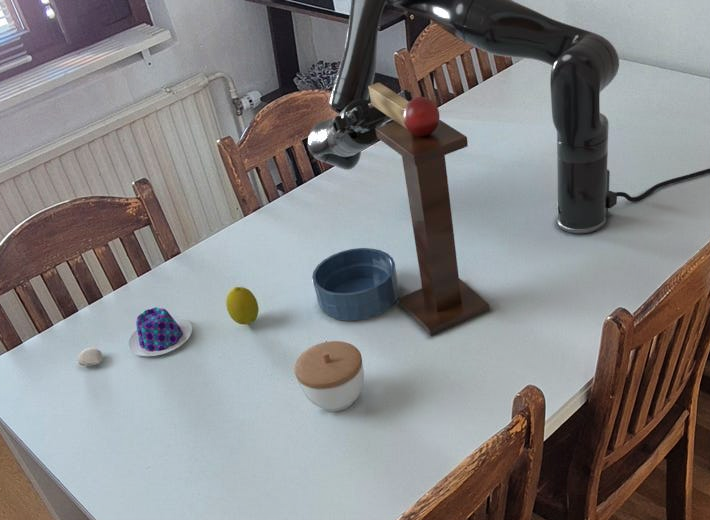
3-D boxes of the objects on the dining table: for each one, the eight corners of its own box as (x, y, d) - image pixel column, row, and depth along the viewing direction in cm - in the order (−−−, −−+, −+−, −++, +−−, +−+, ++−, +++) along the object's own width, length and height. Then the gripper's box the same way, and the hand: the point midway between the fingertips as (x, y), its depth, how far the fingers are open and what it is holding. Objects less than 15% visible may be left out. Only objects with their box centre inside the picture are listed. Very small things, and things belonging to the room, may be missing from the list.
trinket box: (305, 383, 136) (291, 338, 130) (368, 373, 136) (358, 327, 129) (305, 426, 129) (290, 380, 122) (371, 415, 129) (360, 369, 122)
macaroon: (96, 352, 150) (90, 342, 148) (112, 361, 148) (106, 350, 146) (77, 365, 148) (71, 354, 146) (92, 374, 146) (86, 363, 144)
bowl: (363, 266, 159) (358, 239, 155) (416, 293, 151) (411, 264, 146) (303, 303, 153) (295, 276, 149) (354, 333, 145) (348, 305, 140)
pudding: (206, 333, 150) (196, 309, 146) (153, 367, 145) (141, 344, 141) (169, 312, 157) (160, 289, 153) (117, 344, 151) (105, 321, 147)
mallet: (448, 134, 122) (443, 98, 118) (416, 146, 120) (411, 109, 116) (391, 97, 134) (385, 63, 130) (362, 108, 132) (355, 73, 128)
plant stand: (398, 303, 149) (366, 131, 126) (454, 280, 152) (433, 107, 129) (432, 338, 141) (405, 159, 118) (490, 312, 144) (475, 133, 121)
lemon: (257, 333, 148) (245, 296, 142) (229, 333, 149) (216, 296, 144) (267, 315, 152) (255, 278, 146) (240, 315, 153) (227, 278, 147)
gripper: (313, 118, 143) (335, 94, 128) (384, 93, 146) (414, 67, 131) (329, 161, 145) (353, 142, 130) (399, 135, 148) (431, 114, 134)
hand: (384, 104), depth 131 cm, fingers open, 8 cm apart
